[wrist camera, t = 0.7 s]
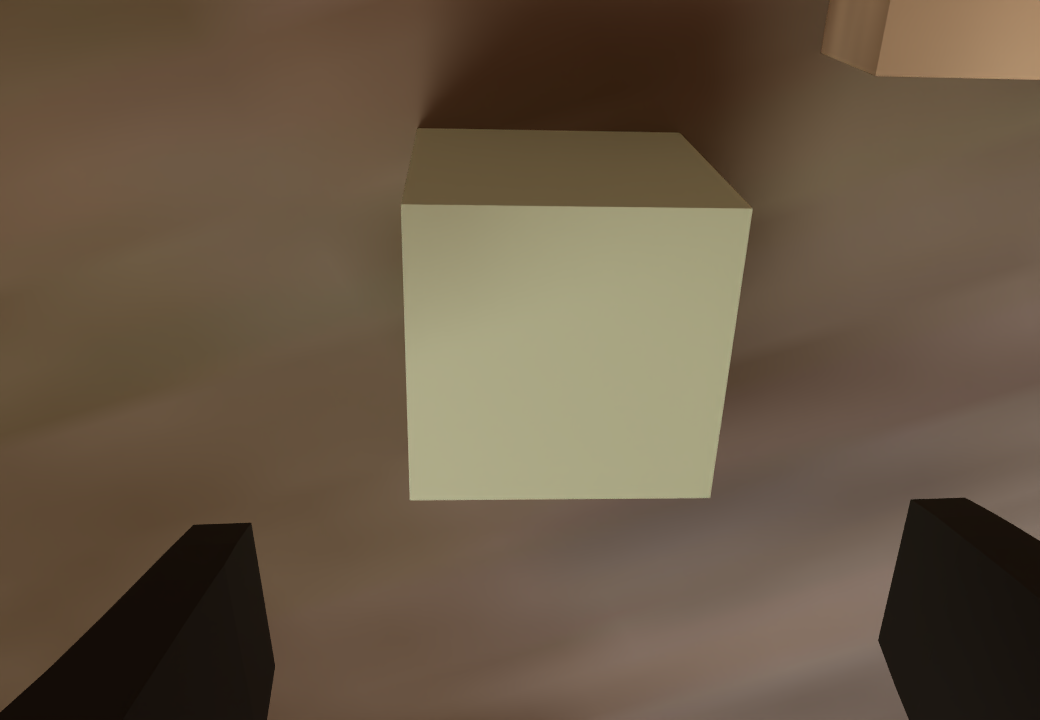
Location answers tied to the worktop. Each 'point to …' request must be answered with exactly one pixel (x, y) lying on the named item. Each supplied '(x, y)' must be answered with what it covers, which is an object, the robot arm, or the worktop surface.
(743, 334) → the worktop surface
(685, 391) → the sage block
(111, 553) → the worktop surface
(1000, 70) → the birch base block
